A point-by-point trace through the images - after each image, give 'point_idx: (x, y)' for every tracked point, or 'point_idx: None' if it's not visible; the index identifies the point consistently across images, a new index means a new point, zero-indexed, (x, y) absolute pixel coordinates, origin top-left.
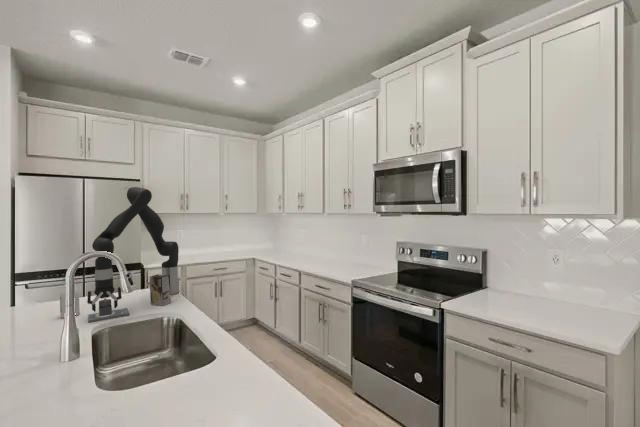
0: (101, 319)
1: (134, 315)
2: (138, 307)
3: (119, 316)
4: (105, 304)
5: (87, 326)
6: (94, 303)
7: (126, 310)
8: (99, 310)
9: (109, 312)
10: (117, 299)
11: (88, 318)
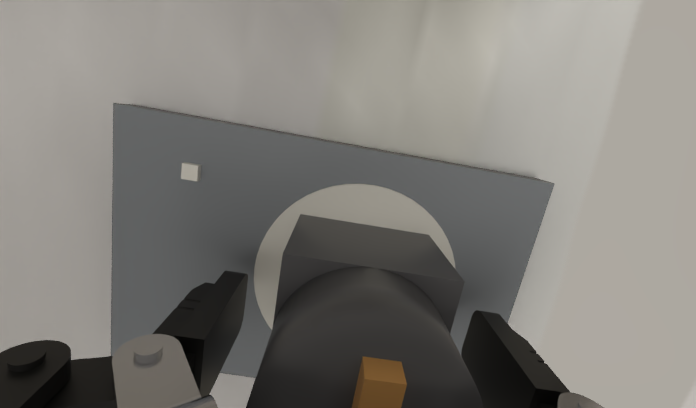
0: (423, 158)
1: (81, 52)
2: (12, 346)
3: (238, 124)
4: (380, 293)
5: (584, 55)
6: (567, 403)
7: (131, 254)
8: (449, 266)
9: (324, 228)
10: (119, 348)
11: (524, 266)
